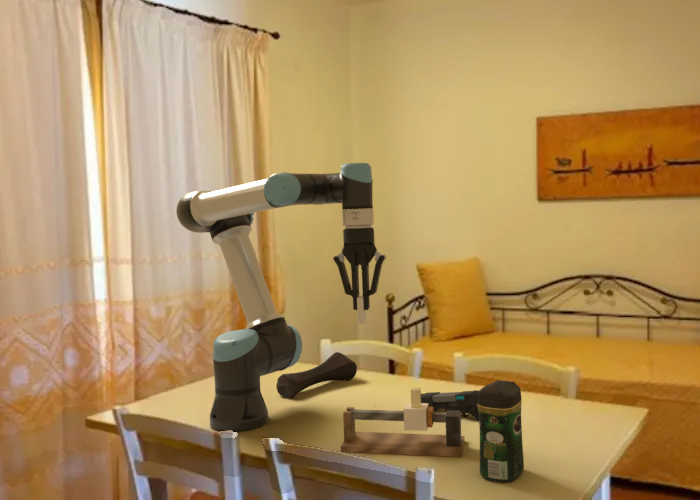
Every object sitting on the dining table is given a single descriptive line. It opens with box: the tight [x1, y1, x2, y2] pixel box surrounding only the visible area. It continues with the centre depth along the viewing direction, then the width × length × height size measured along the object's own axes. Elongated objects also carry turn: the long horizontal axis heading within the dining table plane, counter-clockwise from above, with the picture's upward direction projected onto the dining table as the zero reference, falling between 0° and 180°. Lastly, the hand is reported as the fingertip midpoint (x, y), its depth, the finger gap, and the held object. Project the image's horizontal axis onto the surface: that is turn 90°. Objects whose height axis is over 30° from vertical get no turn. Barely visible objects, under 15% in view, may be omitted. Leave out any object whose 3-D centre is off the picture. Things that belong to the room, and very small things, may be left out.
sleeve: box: [403, 386, 429, 432], centre depth 153 cm, size 5×5×9 cm
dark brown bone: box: [275, 351, 358, 400], centre depth 207 cm, size 11×10×28 cm
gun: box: [421, 389, 479, 422], centre depth 177 cm, size 4×20×10 cm, turn 48°
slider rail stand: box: [340, 406, 466, 458], centre depth 154 cm, size 27×10×9 cm, turn 77°
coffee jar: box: [477, 379, 525, 483], centre depth 136 cm, size 10×8×19 cm
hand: (362, 323), depth 166 cm, fingers closed
